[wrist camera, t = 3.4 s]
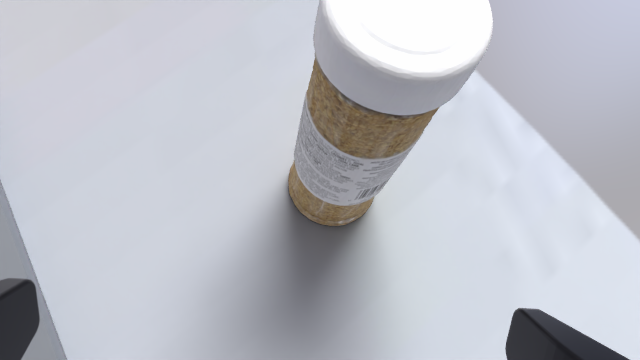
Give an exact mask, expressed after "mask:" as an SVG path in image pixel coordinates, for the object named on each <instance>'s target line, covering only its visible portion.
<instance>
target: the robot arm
mask: <svg viewBox="0 0 640 360" xmlns="http://www.w3.org/2000/svg"><path fill="white" fill-rule="evenodd" d="M39 323H40V314H39V307H38V299H37V291H36V286H35V283H34V282H33V281H32V280H31V279H24V278H6V279H3V280H0V360H21V359H22V357H23V356H24V354H25V352H26V350H27V348H28V347H29V345H30V343H31V341H32V339H33V338H34V336H35V334H36V332H37V330H38V327H39ZM506 356H507V360H629V359H628V358H626V357H624V356H622V355H620V354H619V353H617V352H615V351H613V350H611V349H610V348H608V347H606V346H604V345H602V344H601V343H599V342H597V341H595V340H593V339H592V338H590V337H588V336H586V335H584V334H583V333H581V332H579V331H577V330H575V329H574V328H572V327H570V326H568V325H566V324H565V323H563V322H561V321H559V320H557V319H556V318H554V317H552V316H550V315H548V314H547V313H545V312H543V311H541V310H539V309H529V308H518V309H517V310H515V312H514V314H513V317H512V321H511V325H510V329H509V333H508V337H507V341H506Z"/></svg>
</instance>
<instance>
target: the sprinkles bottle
mask: <svg viewBox="0 0 640 360" xmlns="http://www.w3.org/2000/svg"><path fill="white" fill-rule="evenodd" d="M492 27H493V19H492V12H491V7H490V4H489V1H488V0H320V1H319V6H318V11H317V16H316V21H315V27H314V36H313V40H314V49H315V60H314V65H313V71H312V75H311V79H310V82H309V87H308V90H307V92H306V95H305V100H304V104H303V110H302V115H301V119H300V124H299V130H298V135H297V140H296V146H295V151H294V162H293V164H292V167H291V169H290V173H289V180H288V182H289V193H290V196H291V198H292V200H293V202H294V204H295V205H296V207H297V208H298V209H299V211H300V212H301V213H302V214H303V215H304V216H306V217H307V218H309V219H310V220H311V221H314V222H316V223H319V224H323V225H328V226H340V225H346V224H348V223H350V222H353V221H355V220H356V219H357V218H359V217H361V216H362V215H363V214H364V213H365V212H366V211H367V209H368V208H369V207H370V206H371V204H372V202H373V199H374V196H376V195H377V194H378V193H379V192H380V191H381V189H382V188H383V187H384V186H385V184H386V183H387V182H388V180H389V179H390V177H391V176H392V175H393V173H394V172H395V171H396V170H397V168H398V167H399V166H400V164H401V163H402V162H403V160H404V159H405V157H406V156H407V155H408V153H409V152H410V150H411V149H412V148H413V146H414V145H415V144H416V142H417V141H418V140H419V138H420V137H421V135H422V134H423V131H424V129H425V127H426V126H427V125H428V123H429V122H430V120H431V119H432V117H433V115H434V114H435V112H436V111H437V110H438V108H439V107H440V106H442V105H443V104H445V103H446V102H448V101H449V100H451V99H452V98H453V97H454V96H455V95H456V94H457V93H458V91H459V90H460V89H461V88H462V86H463V85H464V84H465V82H466V81H467V80H468V78H469V77H470V75H471V74H472V73H473V71H474V70H475V68H476V67H477V65H478V64H479V62H480V61H481V59H482V58H483V56H484V54H485V53H486V50H487V48H488V46H489V43H490V40H491V36H492Z"/></svg>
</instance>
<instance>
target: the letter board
mask: <svg viewBox="0 0 640 360" xmlns="http://www.w3.org/2000/svg"><path fill="white" fill-rule="evenodd" d="M6 278H24V279H31V280H32V281H33V282H34V283H35V286H36V291H37V299H38V307H39V314H40V323H39V327H38V330H37V332H36V334H35V336H34V338H33V339H32V341H31V343H30V345H29V347H28V348H27V350H26V352H25V354H24V356H23V357H22V359H21V360H67V358H66V356H65V353H64V350H63V348H62V345H61V342H60V339H59V337H58V334H57V331H56V329H55V326H54V323H53V321H52V318H51V315H50V313H49V310H48V307H47V305H46V302H45V299H44V296H43V294H42V291H41V288H40V286H39V283H38V280H37V278H36V275H35V272H34V270H33V267H32V264H31V262H30V259H29V256H28V253H27V251H26V248H25V245H24V243H23V240H22V237H21V235H20V232H19V229H18V227H17V224H16V221H15V219H14V216H13V213H12V210H11V208H10V205H9V202H8V200H7V197H6V194H5V192H4V189H3V186H2V184H1V181H0V280H3V279H6Z"/></svg>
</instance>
